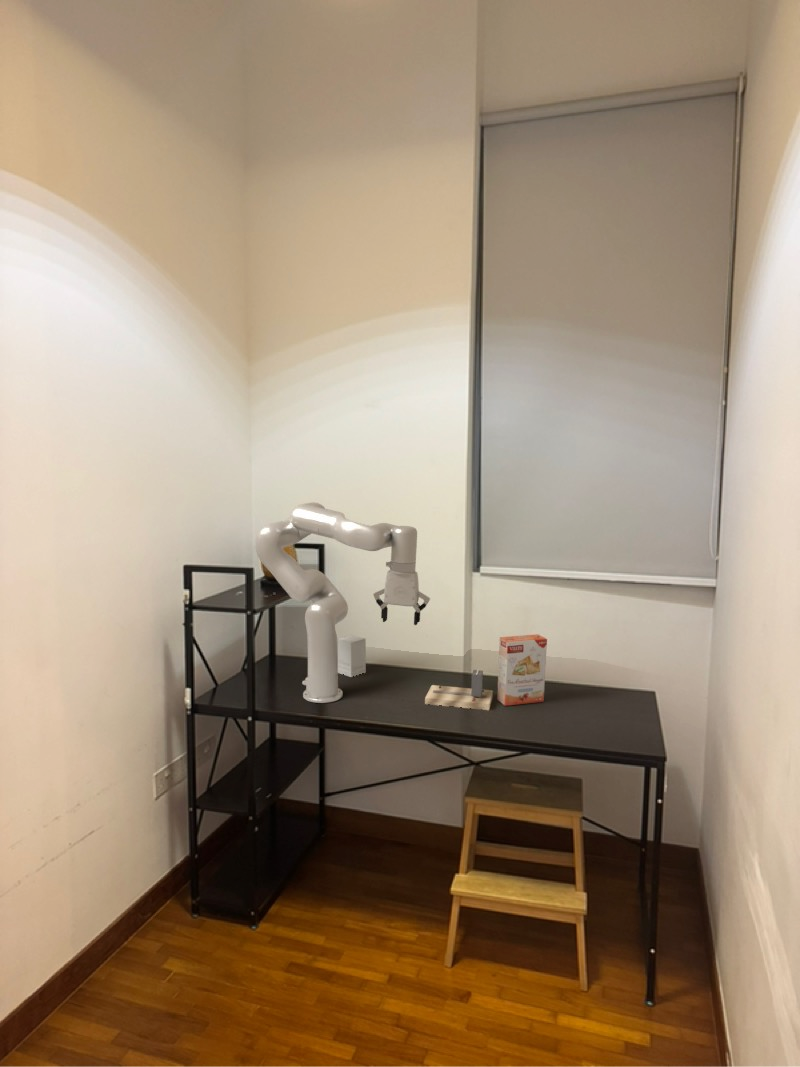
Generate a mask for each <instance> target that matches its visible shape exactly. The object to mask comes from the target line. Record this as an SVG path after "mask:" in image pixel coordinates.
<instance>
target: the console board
mask: <svg viewBox="0 0 800 1067" xmlns="http://www.w3.org/2000/svg"><path fill="white" fill-rule="evenodd" d="M493 693H494V691H493V690H491V689H482V695H481V697H477V696H471V688H468V687H457V686H447V685H445V686H444V685H435V684H432V685H431V686H430V688H429V690H428V692H427V694H426V695H425V697H424V705H428V704H430V705H431V706H439V705H442V707H449V706H454V707H453V708H460V707H462V708H463V709H470V708H471V709H473V710H481V709H482V711H483V710H484V711H490V708H491V704H492V701H493V697H494V695H493ZM430 705H429V706H430Z"/></svg>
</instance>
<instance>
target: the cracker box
mask: <svg viewBox="0 0 800 1067" xmlns="http://www.w3.org/2000/svg"><path fill="white" fill-rule="evenodd" d="M547 645H548V639H547V637H544V636H541V635H540V634H539V633H537V634H527V635H513V636H501V637H499V651H498V670H497V671H498V674H497V697H496V699H497V701H498V702H499V703H501V704H502V705H503V706H505V707H507V706H515V705H516V706H517V705H523V704H524V705H525V704H532V703H543V702H544V701H545V700H544V698H545V683H546V664H547V647H548V646H547Z"/></svg>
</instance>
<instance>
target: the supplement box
mask: <svg viewBox="0 0 800 1067" xmlns="http://www.w3.org/2000/svg"><path fill="white" fill-rule="evenodd" d="M337 641H338V674H340V675H343V674H344V675H343V676H346V677H349V678H353V676H354V677H357V676H360V675H359V674H361V675H363V674H362V673H364V674H366V672H367V669H366V667H367V666H366V665H367V664H366V661H367V660H366V654H367V653H366V651H367V650H366V644H367V642H366V637H362V636H357V635H355V634H350V635H346V636H342V637H339V638H337ZM356 675H357V676H356Z"/></svg>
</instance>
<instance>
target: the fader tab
mask: <svg viewBox="0 0 800 1067" xmlns="http://www.w3.org/2000/svg"><path fill="white" fill-rule="evenodd" d="M483 676H484V671H483V670H479V669H473V671H472V673H471V696H477V697H481V695H482V690H483V685H484V684H483V682H484V680H483V678H484V677H483Z"/></svg>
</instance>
